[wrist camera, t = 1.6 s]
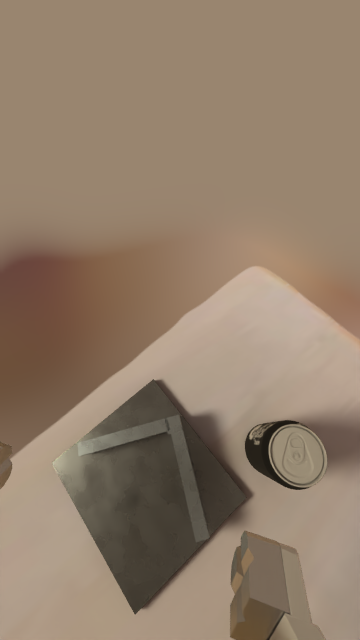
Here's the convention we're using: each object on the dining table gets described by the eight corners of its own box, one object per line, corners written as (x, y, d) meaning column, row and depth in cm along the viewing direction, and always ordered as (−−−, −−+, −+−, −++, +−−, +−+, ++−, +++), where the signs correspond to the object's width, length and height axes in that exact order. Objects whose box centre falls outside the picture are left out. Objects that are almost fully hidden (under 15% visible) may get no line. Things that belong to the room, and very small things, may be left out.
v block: (137, 608, 32) (127, 639, 27) (55, 462, 38) (36, 466, 33) (244, 495, 36) (253, 505, 31) (154, 380, 42) (149, 373, 37)
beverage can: (243, 471, 37) (265, 488, 26) (244, 421, 39) (264, 416, 28) (292, 477, 36) (336, 497, 25) (289, 426, 39) (328, 423, 28)
